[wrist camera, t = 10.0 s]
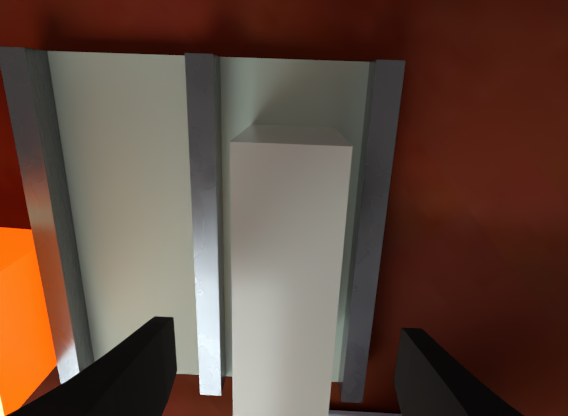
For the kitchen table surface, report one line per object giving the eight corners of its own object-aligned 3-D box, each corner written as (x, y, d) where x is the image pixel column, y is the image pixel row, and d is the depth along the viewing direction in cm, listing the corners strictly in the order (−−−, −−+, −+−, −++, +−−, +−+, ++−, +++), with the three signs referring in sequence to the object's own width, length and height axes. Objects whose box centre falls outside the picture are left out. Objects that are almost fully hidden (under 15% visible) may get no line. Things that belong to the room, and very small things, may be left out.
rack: (355, 370, 23) (362, 403, 21) (85, 356, 24) (61, 387, 21) (391, 64, 18) (405, 60, 15) (36, 51, 18) (-4, 46, 16)
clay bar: (318, 338, 21) (327, 429, 16) (249, 335, 22) (233, 424, 16) (334, 127, 18) (352, 146, 12) (251, 124, 18) (229, 141, 12)
